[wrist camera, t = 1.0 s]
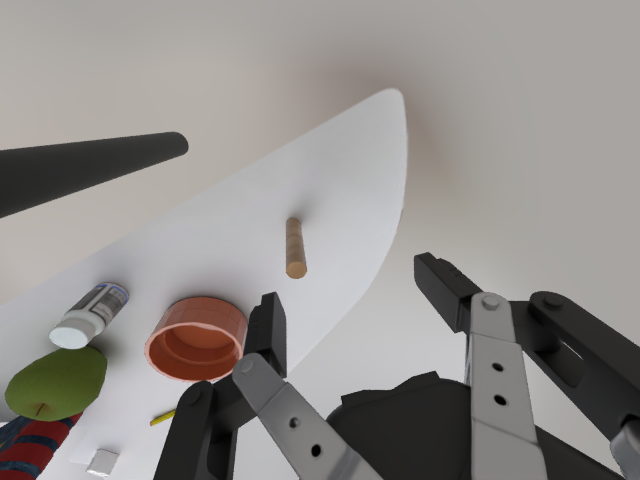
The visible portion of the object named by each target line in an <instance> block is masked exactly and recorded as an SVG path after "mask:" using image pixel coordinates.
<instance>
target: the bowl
mask: <svg viewBox="0 0 640 480" xmlns="http://www.w3.org/2000/svg"><path fill="white" fill-rule="evenodd" d="M247 331H248V326H247V321H246V319H245V317H244V316H243V314H242V313H241V312H240V311H239V310H238V309H237V308H236V307H234V306H233V305H231V304H229V303H227V302H224V301H222V300H220V299H215V298H209V297H193V298H188V299H185V300H182V301H179V302H177V303H175V304H174V305H172V306H171V307H169V308H168V309H167V311H166V312H165V314H164V315H163V317H162V318H161V320H160V321H159V323H158V325H157V326H156V328H155V329H154V331H153V333H152V334H151V336H150V337H149V339H148V341H147V342H146V344H145V356H146V358H147V361H148V363H149V364H150V365H151V366H152V367H153V368H154V369H155V370H156V371H157V372H159V373H160V374H162V375H164V376H166V377H168V378H171V379H175V380H178V381H182V382H192V383H196V382H199V381H202V380H206V381H209V382H211V381H215V380H218V379H221V378H224V377H226V376H227V375H229V374H230V373H232V371H233V368H234V366H235V364H236V363H237V362H238V361H239V360H240V359H241V358H242V356H243V351H244V346H245V340H246V334H247Z"/></svg>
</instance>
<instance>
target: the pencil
mask: <svg viewBox="0 0 640 480" xmlns="http://www.w3.org/2000/svg"><path fill="white" fill-rule="evenodd" d="M175 411H176V410H174V411H172V412H170V413H168V414H166V415H163V416H161V417H159V418H157V419H155V420H152V421H151V422H150V426H153V425H155V424H157V423H160V422H162V421H164V420H166V419H168V418H171V417H173V416H174V414H175Z"/></svg>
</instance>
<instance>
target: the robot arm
mask: <svg viewBox="0 0 640 480" xmlns="http://www.w3.org/2000/svg"><path fill="white" fill-rule="evenodd" d="M414 278H415V282H416V284H417V286H418V288H419V289H420V290H421V292H422V293H423V294H424V295H425V296H426V298H427V299H428V300H429V301H430V303H431V304H432V305H433V307H434V308H435V309H436V310H437V312H438V313H439V314H440V315H441V317H442V318H443V319H444V320H445V322H446V323H447V324H448V326H449V327H450V328H451V329H452V331H453V332H454V333H458V332H461V331H463V332H464V333H465V334H466V335H467V336H466V353H465V376H464V384H463V383H461V382H458V381H454V380H450V379H443V378H439V376H438V374H437V373H436V371H432V372H429V373H425V374H421V375H417V376H413V377H411V378H410V379H408V380H406V381H405V382H403V383H402V384H400V385H398V386H397V387H395V388H394V389H392V390H362V391H358V392H354V393H351V394H347V395H343V396H341V400H342V405H340V406H339V407H337V408H336V409H335V410H334V411H333V412H332V413H331V414H330V415H329V416H328V417H327V419H326V420H324V419H323V418H322V417H321V416H320V415H319V413H318V412H316V411H315V409H314V408H313V407H312V406H311V405H310V404H309V403H308V402H307V401H306V400H305V399H304V397H303V396H302V395H301V394H300V393H299V392H298V391H297V390H296V389H295V388H294V387H293V386H292V385H291V384H290V383H289V382H285V381H284V380H283V378H286V377H287V362H286V316H285V312H284V309H283V307H282V304H281V302H280V299H279V297H278V295H277V293H276V292H272V293H268V294H264V295H262V300H261V305H259V306H255V307H254V309H253V311H252V312H251V314H250V318H249V324H248V331H247V334H246V340H245V346H244V351H243V356H242V358H241V359H240V360H239V361H238V362H237V363H236V364H235V366H234V368H233V371H232V373H230V374H229V375H227V376H226V377H224V378H222V379H221V380H219V381H217V382H216V383H214V384H211V383H210V382H209V381H206V380H202V381H199V382H196V383H195V384H193V385H191V386H190V387H189V388H188V389H187V390H186V391H185V392H184V393H183V395H182V396H181V398H180V400H179V402H178V405H177V408H176V411H175V414H174V417H173V420H172V423H171V426H170V429H169V432H168V435H167V438H166V441H165V444H164V448H163V451H162V454H161V457H160V460H159V463H158V466H157V469H156V472H155V475H154V478H153V480H233V472H234V462H235V453H236V452H235V451H236V443H237V433H238V428H239V427H241V426H242V425H244V424H245V423H247V422H248V421H250V420H251V419H253V418H254V417H256V416H258V418H259V419H260V421H261V422H262V424H263V425H264V427H265V428H266V430H267V431H268V432H269V434H270V436H271V437H272V438H273V440H274V441H275V443H276V444H277V446H278V447H279V449H280V450H281V452H282V453H283V454H284V456H285V457H286V459H287V461H288V462H289V463H290V465H291V466H292V468H293V469H294V471H295V472H296V474H297V475H298V477H299V478H300V479H299V480H640V347H639V346H637V345H636V344H634V343H633V342H631V341H630V340H628V339H627V338H626V337H624V336H623V335H621V334H620V333H618V332H617V331H615V330H614V329H612V328H611V327H609V326H608V325H607V324H605V323H604V322H602V321H601V320H599V319H598V318H596V317H595V316H593V315H592V314H590V313H589V312H587V311H586V310H585V309H583V308H582V307H580V306H579V305H577V304H576V303H574V302H573V301H571V300H570V299H568V298H567V297H565V296H562V295H560V294H557V293H553V292H548V291H539V292H535V293H533V294H532V295H531V297H530V300H529V301H507V300H506V299H505V298H503V297H501V296H500V295H497V294H494V293H490V292H484V291H482V290H481V289H480V288H479V287H478V286H477V285H475V284H474V283H473V282H472V281H471V280H470V279H469V278H467V277H466V276H465V275H464V274H462V272H461V271H459V270H457V268H456V267H455V266H454V265H452V264H451V263H450V262H448V261H446V260H443V259H441V258H440V259H436V258H435V257H434V256H433V255H432V254H430V253H429V252H426V253H423V254H419V255H415V256H414ZM563 342H565V343H566V344H567V345H568V346H569V347H570V348H571V349H573V350H574V351H575V352H576V353H577V354H578V355H579V356H581V358H582V359H581V358H580V357H579V356H578V355H577V354H576V353H575V352H573V351H572V350H571V349H570V348H569V347H568V346H566V345H565V344H564V343H563ZM522 350H523V351H525V353H526V354H527V355H528V356H529V357H530V358H531V359H532V360H533V361H534V362H535V363H536V364H537V365H538V366H539V367H540V368H541V369H542V370H543V372H544V373H545V374H546V375H547V376H548V377H549V378H550V379H551V380H552V381H553V382H554V383H555V384H556V385H557V386H558V387H559V388H560V389H561V390H562V391H563V392H564V394H565V395H566V396H567V397H568V398H569V399H570V400H571V401H572V402H573V403H574V404H575V405H576V406H577V407H578V408H579V409H580V410H581V412H582V413H583V414H584V415H585V416H586V417H587V418H588V419H589V420H590V421H591V422H592V423H593V424H594V425H595V426H596V427H597V428H598V429H599V430H600V432H601V433H602V434H603V435H604V436H605V437H606V438H607V439H608V440H609V441H610V450H611V453H612V455H613V458H614V459H615V461H616V462H617V464H618V465H619V466H620V470H621V472H622V474H623V475H624V477H625V478H626V479H625V478H624V477H622V476H621V475H619V474H618V473H616V472H614V471H612V470H610V469H609V468H607V467H606V466H604V465H602V464H601V463H599V462H597V461H595V460H594V459H592V458H590V457H589V456H587V455H585V454H584V453H582V452H580V451H579V450H577V449H575V448H573V447H572V446H570V445H568V444H567V443H565V442H563V441H562V440H560V439H558V438H557V437H555V436H553V435H551V434H550V433H548V432H546V431H545V430H543V429H541V428H540V427H538V426H536V425H535V424H534V420H533V413H532V408H531V401H530V395H529V389H528V383H527V377H526V371H525V365H524V359H523V353H522Z"/></svg>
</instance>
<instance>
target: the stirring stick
mask: <svg viewBox="0 0 640 480" xmlns="http://www.w3.org/2000/svg"><path fill="white" fill-rule="evenodd" d="M306 272H307V266H306V259H305V252H304V245H303V238H302V231H301V224H300V221H299V220H298V219H296V218H291V219H289V220H288V221H287V222H286V273H287V275H288V276H289V277H291V278H293V279H299V278H302V277H303V276H304V275H305V274H306Z"/></svg>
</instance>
